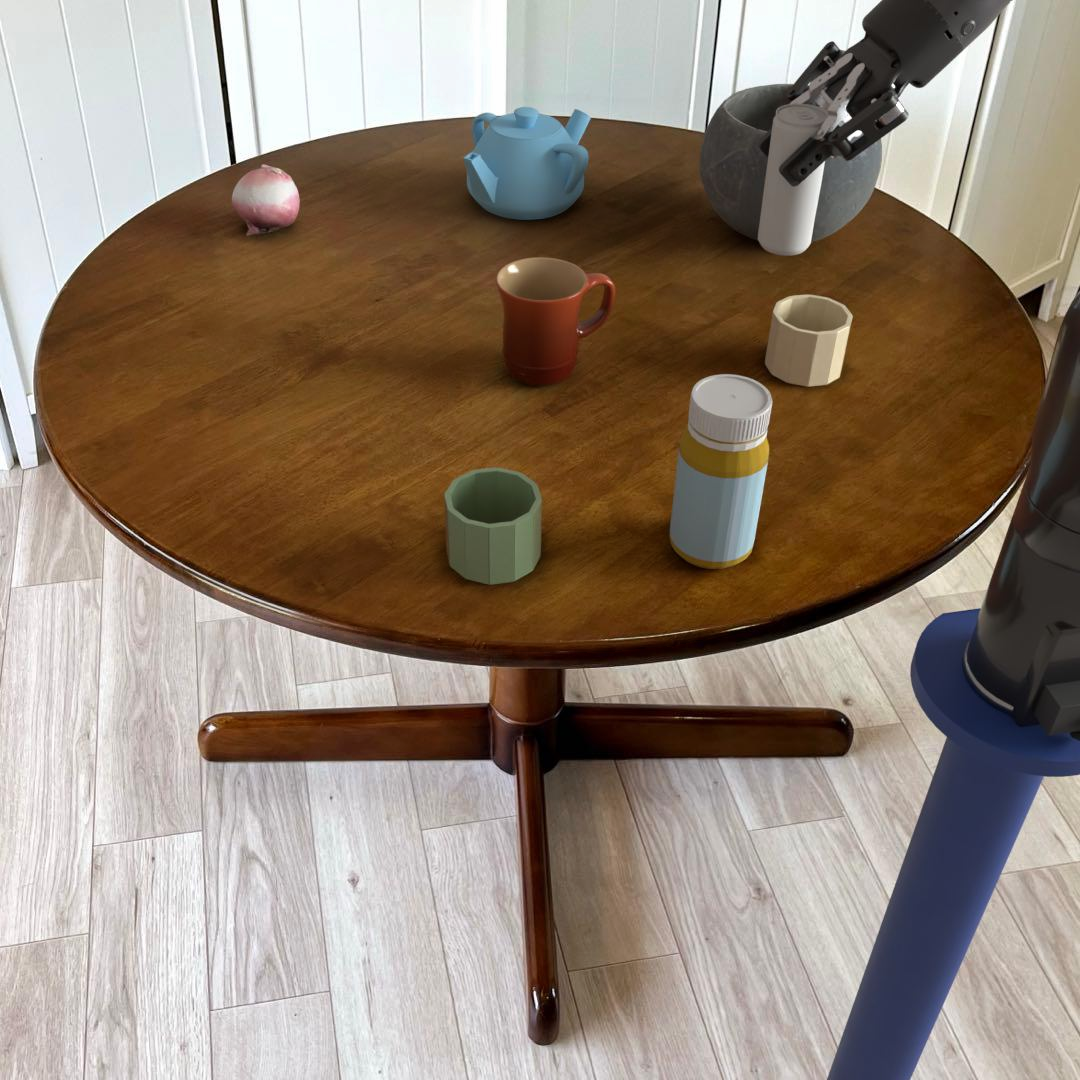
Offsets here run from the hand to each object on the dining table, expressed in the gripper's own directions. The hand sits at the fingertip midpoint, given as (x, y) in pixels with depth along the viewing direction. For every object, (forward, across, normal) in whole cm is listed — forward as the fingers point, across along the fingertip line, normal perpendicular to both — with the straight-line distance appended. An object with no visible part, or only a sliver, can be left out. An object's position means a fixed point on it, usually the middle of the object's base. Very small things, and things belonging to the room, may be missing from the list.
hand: (775, 165), depth 106 cm
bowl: (+5, -34, +28) cm, 44 cm away
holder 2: (+11, -5, +22) cm, 25 cm away
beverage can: (+4, 0, +7) cm, 8 cm away
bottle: (+24, +21, +10) cm, 33 cm away
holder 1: (+36, +19, -3) cm, 41 cm away
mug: (+29, -8, +5) cm, 30 cm away
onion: (+48, -44, -15) cm, 67 cm away
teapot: (+25, -47, +8) cm, 54 cm away
